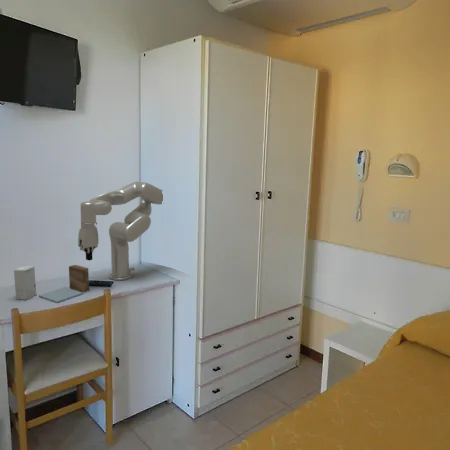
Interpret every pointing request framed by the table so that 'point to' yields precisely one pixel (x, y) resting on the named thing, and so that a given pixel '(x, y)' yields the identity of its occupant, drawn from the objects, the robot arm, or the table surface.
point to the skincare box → (25, 282)
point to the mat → (60, 295)
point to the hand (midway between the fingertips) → (89, 259)
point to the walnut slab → (79, 278)
